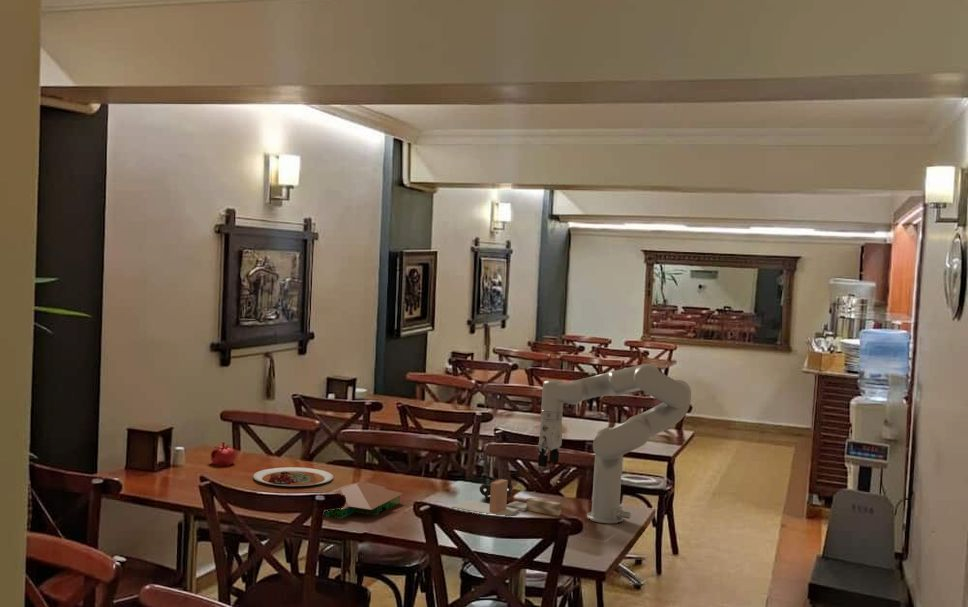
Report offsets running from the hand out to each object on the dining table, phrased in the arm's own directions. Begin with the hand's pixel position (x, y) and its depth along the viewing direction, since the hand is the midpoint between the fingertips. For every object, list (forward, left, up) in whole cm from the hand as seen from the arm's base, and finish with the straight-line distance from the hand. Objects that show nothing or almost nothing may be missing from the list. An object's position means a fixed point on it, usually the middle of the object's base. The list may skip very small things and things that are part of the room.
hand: (548, 464), depth 322 cm
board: (+18, +12, -17) cm, 27 cm away
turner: (0, 0, -17) cm, 17 cm away
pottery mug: (+24, -4, -18) cm, 30 cm away
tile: (+13, +12, -16) cm, 24 cm away
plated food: (+98, +18, -18) cm, 101 cm away
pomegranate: (+135, +17, -17) cm, 137 cm away
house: (+56, +35, -18) cm, 68 cm away
